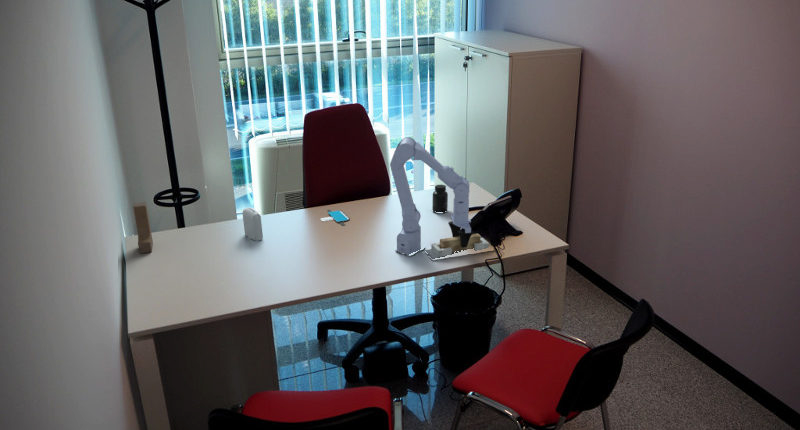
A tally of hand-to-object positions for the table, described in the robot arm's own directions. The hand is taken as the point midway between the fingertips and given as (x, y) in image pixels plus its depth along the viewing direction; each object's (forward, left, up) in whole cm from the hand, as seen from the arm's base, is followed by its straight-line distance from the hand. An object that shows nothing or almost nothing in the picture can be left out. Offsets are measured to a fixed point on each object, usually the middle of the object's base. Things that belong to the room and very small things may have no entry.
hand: (460, 243), depth 247 cm
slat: (0, 0, -3) cm, 3 cm away
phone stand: (-5, +63, -4) cm, 64 cm away
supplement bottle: (+30, +31, -4) cm, 43 cm away
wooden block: (-74, +100, -4) cm, 124 cm away
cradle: (0, 0, -4) cm, 4 cm away
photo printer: (-40, +75, -4) cm, 85 cm away
